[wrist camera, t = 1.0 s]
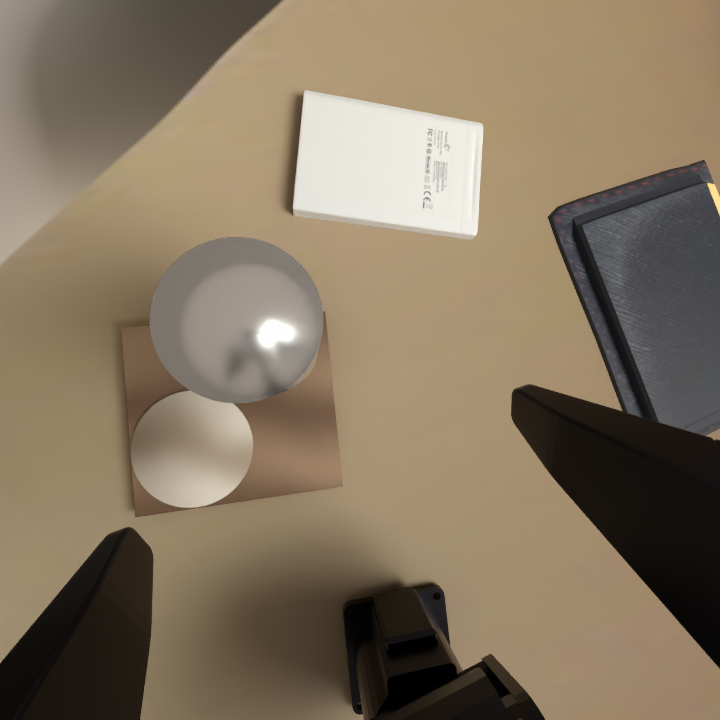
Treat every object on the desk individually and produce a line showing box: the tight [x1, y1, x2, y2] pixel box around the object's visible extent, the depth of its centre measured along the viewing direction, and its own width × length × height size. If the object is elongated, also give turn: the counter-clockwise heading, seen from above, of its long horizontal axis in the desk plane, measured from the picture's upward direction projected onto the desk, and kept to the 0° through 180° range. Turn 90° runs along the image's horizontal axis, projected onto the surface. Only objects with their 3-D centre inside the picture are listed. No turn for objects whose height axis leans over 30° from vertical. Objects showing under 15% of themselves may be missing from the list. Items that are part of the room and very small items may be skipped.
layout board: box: [121, 311, 343, 517], centre depth 22 cm, size 11×12×1 cm
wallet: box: [548, 160, 720, 436], centre depth 27 cm, size 20×2×15 cm
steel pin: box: [150, 237, 323, 403], centre depth 16 cm, size 4×4×13 cm
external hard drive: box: [293, 90, 483, 240], centre depth 25 cm, size 2×8×12 cm
